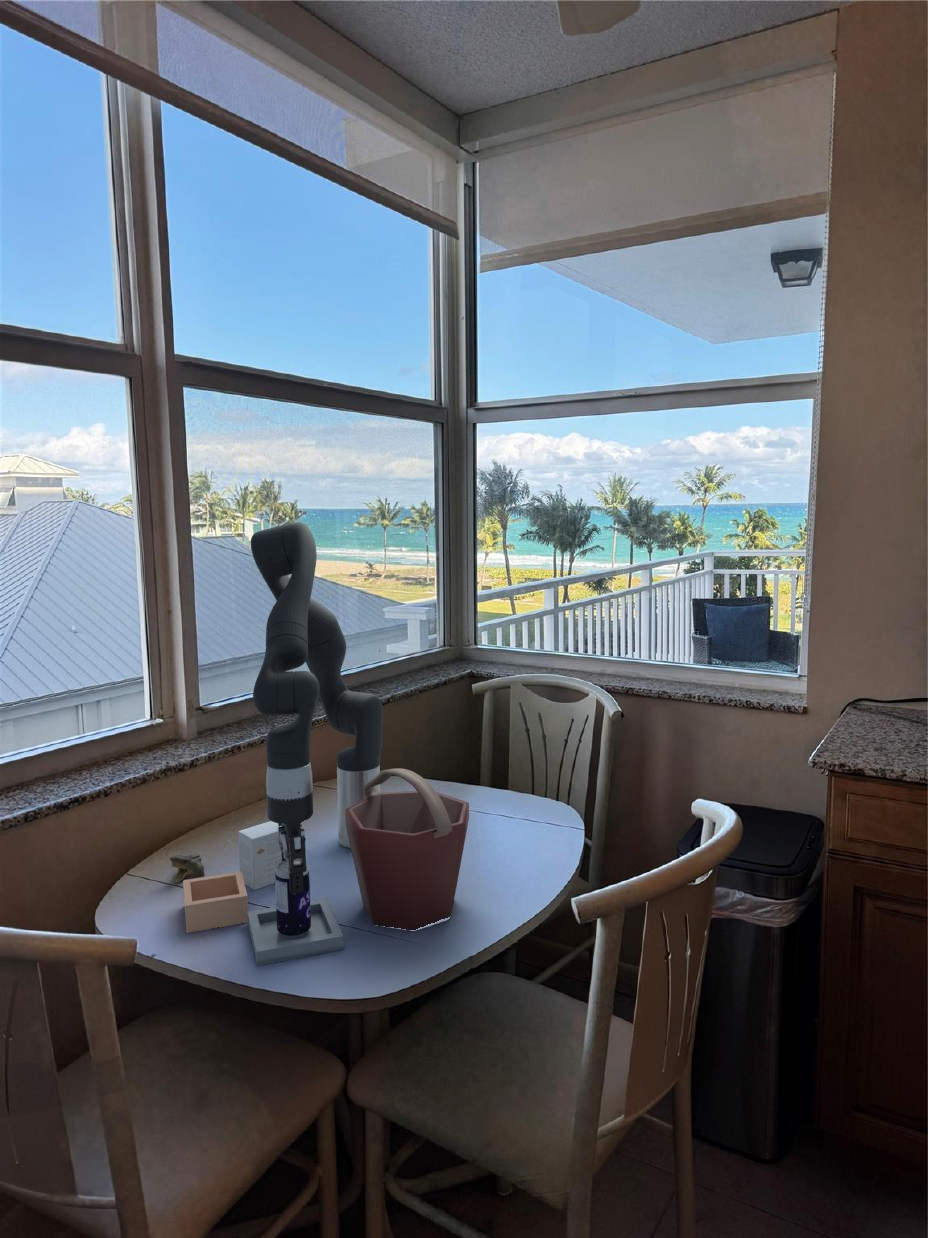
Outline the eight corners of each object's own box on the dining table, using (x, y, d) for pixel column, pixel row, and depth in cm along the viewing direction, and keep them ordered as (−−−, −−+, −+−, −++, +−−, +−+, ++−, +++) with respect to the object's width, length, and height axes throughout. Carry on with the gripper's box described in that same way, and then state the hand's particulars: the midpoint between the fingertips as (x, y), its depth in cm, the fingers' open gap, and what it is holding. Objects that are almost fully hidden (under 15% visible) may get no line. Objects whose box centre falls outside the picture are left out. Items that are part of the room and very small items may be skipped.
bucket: (338, 888, 158) (335, 763, 155) (446, 870, 166) (445, 750, 163) (370, 952, 135) (368, 806, 132) (494, 927, 143) (494, 789, 140)
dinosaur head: (182, 894, 158) (182, 863, 156) (156, 883, 160) (156, 853, 158) (209, 874, 165) (210, 844, 163) (184, 863, 167) (185, 834, 166)
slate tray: (327, 911, 149) (326, 898, 149) (343, 949, 136) (343, 936, 136) (247, 924, 144) (247, 912, 144) (257, 966, 131) (256, 952, 131)
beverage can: (303, 942, 137) (301, 874, 135) (271, 938, 138) (269, 871, 136) (316, 925, 142) (314, 859, 141) (285, 922, 143) (283, 857, 142)
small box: (274, 869, 166) (273, 819, 165) (290, 878, 163) (288, 827, 161) (239, 882, 161) (237, 830, 160) (253, 891, 157) (251, 838, 156)
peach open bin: (242, 896, 155) (241, 871, 154) (248, 922, 145) (247, 895, 144) (184, 906, 151) (183, 880, 150) (186, 933, 141) (185, 905, 141)
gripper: (320, 800, 131) (322, 896, 134) (305, 774, 145) (307, 861, 147) (272, 806, 129) (275, 904, 131) (261, 779, 142) (264, 868, 144)
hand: (292, 881), depth 139 cm, fingers open, 8 cm apart
